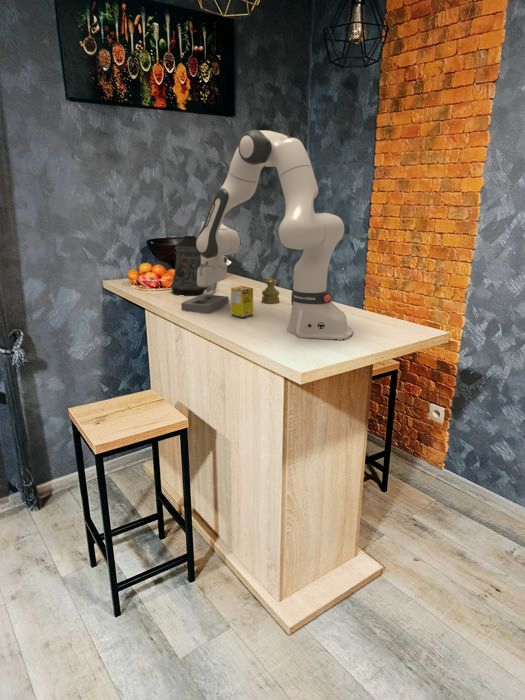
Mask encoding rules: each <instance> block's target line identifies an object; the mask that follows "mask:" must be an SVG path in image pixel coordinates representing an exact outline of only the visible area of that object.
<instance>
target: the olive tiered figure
mask: <svg viewBox="0 0 525 700" xmlns="http://www.w3.org/2000/svg"><path fill="white" fill-rule="evenodd" d="M264 283H265V284H266V285H267V287H266V288H265V289H263V290H262V291H261V295H262V296H261V302H262V303H263V304H267V303H268V305H269V304H270V305H272V304H274V303H275V304H279V302H280V296H279V295H280V291H279V290H277V288H275V285H276V284H277V283H278V282H277V280H276V279H274V278H273V277H271V278H270V277H269V278H268V279H266V280H264Z"/></svg>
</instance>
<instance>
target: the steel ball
mask: <svg viewBox="0 0 525 700" xmlns="http://www.w3.org/2000/svg"><path fill="white" fill-rule="evenodd" d="M203 295H204V297H205V298H211V297H212V296H213V295H214V294H213V291H212V290H211V289H208V288H207V289H205V290H204V292H203Z"/></svg>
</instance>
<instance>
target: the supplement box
mask: <svg viewBox="0 0 525 700" xmlns="http://www.w3.org/2000/svg"><path fill="white" fill-rule="evenodd" d="M230 291H231V293H230V294H231V295H230V296H231V297H230V298H231V301H230V303H231V307H230V309H231V317H235V318H238V319H241V320H242V319H243V320H244V319H247V318H250V317H253V316H254V288H253V287H249V286H245V285H240V286H234V287H231V288H230Z"/></svg>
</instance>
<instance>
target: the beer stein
mask: <svg viewBox="0 0 525 700" xmlns="http://www.w3.org/2000/svg"><path fill="white" fill-rule="evenodd" d="M196 239H197V236H196V235H184V237H183V239H181V240H180V241H179V242H178V243H176V245H175V248H174V249H175V251H176V257H175V265H174V273H173V278H172V281H171V284H170V286H171V287H170V288H171V292H172V294H173V293H174V294H173V295H175V294H177V295H176V296H179V295H184V296H183V297H197V296H199V295H201V294H203V292H204V290H205V289H208V287H198V285H197V271H198V268H199V267H200V265H201V254H200V253H199V252H198V250H197V248H196Z"/></svg>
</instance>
